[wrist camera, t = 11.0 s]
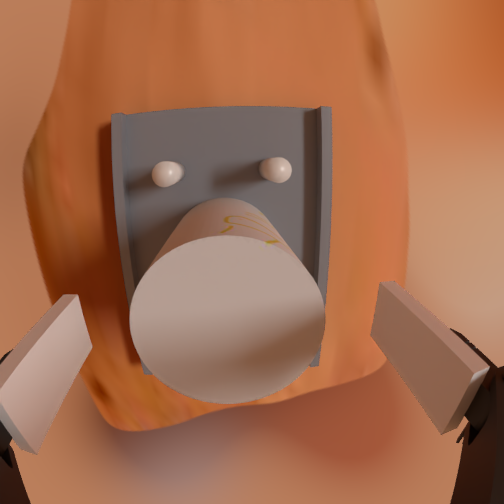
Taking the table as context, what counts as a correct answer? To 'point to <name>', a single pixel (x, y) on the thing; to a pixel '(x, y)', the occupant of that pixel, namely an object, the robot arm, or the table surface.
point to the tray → (223, 178)
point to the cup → (227, 307)
